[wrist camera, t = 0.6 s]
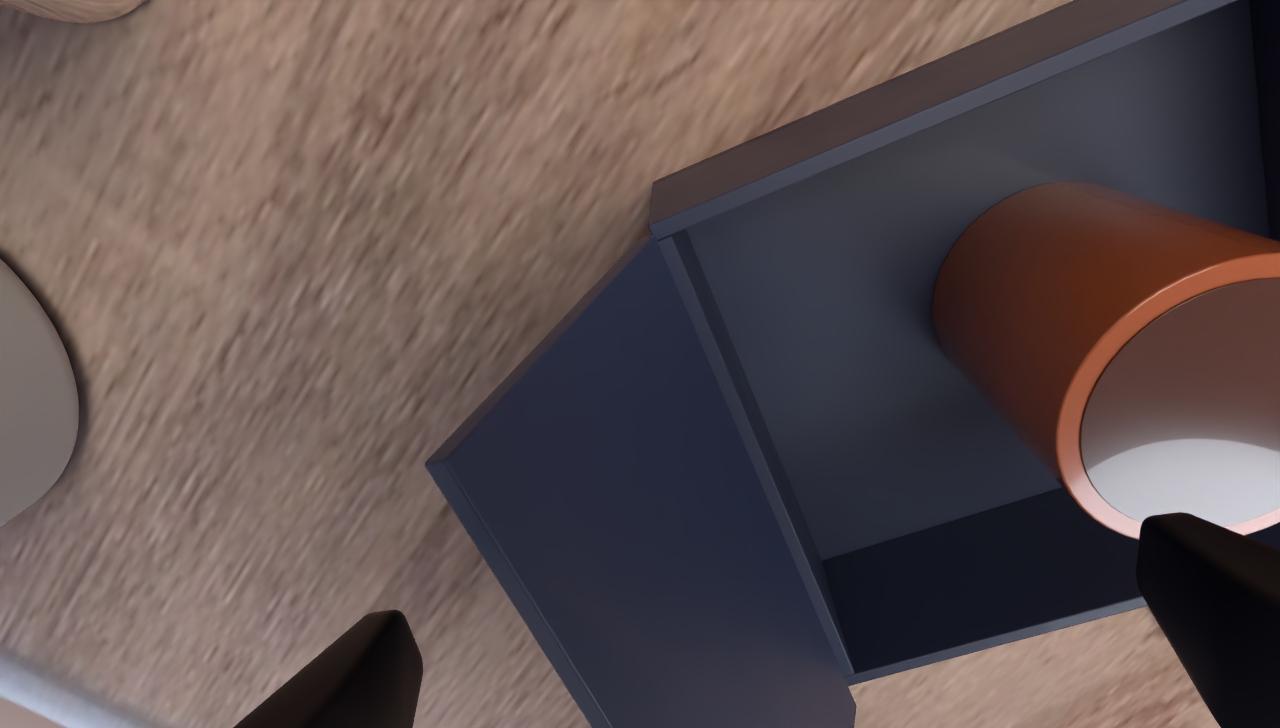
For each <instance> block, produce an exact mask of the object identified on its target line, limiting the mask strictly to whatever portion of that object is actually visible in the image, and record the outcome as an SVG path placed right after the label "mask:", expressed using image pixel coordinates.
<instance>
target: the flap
mask: <svg viewBox="0 0 1280 728" xmlns="http://www.w3.org/2000/svg"><path fill="white" fill-rule="evenodd" d="M425 467H426V469H427V470H428V472H429V473H430V475H431V476H432V478H433V479H434V481H435V483H436V484H437V486H438V487H439V489H440V490H441V492H442V494H443V495H444V497H445V498H446V500H447V501H448V503H449V505H450V506H451V508H452V509H453V511H454V512H455V514H456V515H457V517H458V519H459V520H460V522H461V523H462V525H463V526H464V528H465V530H466V531H467V533H468V534H469V536H470V537H471V539H472V541H473V542H474V544H475V545H476V547H477V548H478V550H479V551H480V553H481V555H482V556H483V558H484V559H485V561H486V562H487V564H488V566H489V567H490V569H491V570H492V572H493V573H494V575H495V577H496V578H497V580H498V581H499V583H500V584H501V586H502V587H503V589H504V591H505V592H506V594H507V595H508V597H509V598H510V600H511V602H512V603H513V605H514V606H515V608H516V609H517V611H518V613H519V614H520V616H521V617H522V619H523V620H524V622H525V623H526V625H527V627H528V628H529V630H530V631H531V633H532V634H533V636H534V638H535V639H536V641H537V642H538V644H539V645H540V647H541V649H542V650H543V652H544V653H545V655H546V656H547V658H548V659H549V661H550V663H551V664H552V666H553V667H554V669H555V670H556V672H557V674H558V675H559V677H560V678H561V680H562V681H563V683H564V685H565V686H566V688H567V689H568V691H569V692H570V694H571V695H572V697H573V699H574V700H575V702H576V703H577V705H578V706H579V708H580V710H581V711H582V713H583V714H584V716H585V717H586V719H587V721H588V722H589V724H590V725H591V727H592V728H854V722H855V714H856V704H855V702H854V700H853V697H852V695H851V693H850V690H849V688H848V685H847V683H846V681H845V678H844V676H843V674H842V671H841V669H840V667H839V664H838V662H837V660H836V657H835V655H834V653H833V650H832V648H831V646H830V643H829V641H828V639H827V636H826V634H825V632H824V629H823V627H822V625H821V622H820V620H819V618H818V615H817V613H816V611H815V608H814V606H813V604H812V601H811V599H810V597H809V594H808V592H807V590H806V587H805V585H804V583H803V580H802V578H801V576H800V573H799V571H798V569H797V566H796V564H795V562H794V559H793V557H792V555H791V552H790V550H789V548H788V545H787V543H786V541H785V538H784V536H783V534H782V531H781V529H780V527H779V524H778V522H777V520H776V517H775V515H774V513H773V510H772V508H771V506H770V503H769V501H768V499H767V496H766V494H765V492H764V489H763V487H762V485H761V482H760V480H759V478H758V475H757V473H756V471H755V468H754V466H753V464H752V461H751V459H750V457H749V454H748V452H747V450H746V447H745V445H744V443H743V440H742V438H741V436H740V433H739V431H738V429H737V426H736V424H735V421H734V419H733V417H732V414H731V412H730V410H729V407H728V405H727V403H726V400H725V398H724V396H723V393H722V391H721V389H720V386H719V384H718V382H717V379H716V377H715V375H714V372H713V370H712V368H711V365H710V363H709V361H708V358H707V356H706V354H705V351H704V349H703V347H702V344H701V342H700V340H699V337H698V335H697V333H696V330H695V328H694V326H693V323H692V321H691V319H690V316H689V314H688V312H687V309H686V307H685V305H684V302H683V300H682V298H681V295H680V293H679V291H678V288H677V286H676V284H675V281H674V279H673V277H672V274H671V272H670V270H669V267H668V265H667V263H666V260H665V258H664V256H663V253H662V251H661V249H660V246H659V244H658V242H657V239H656V237H655V235H649V236H646V237H643V238H640V239H639V240H638V241H637V242H636V243H635V244H634V245H633V246H632V247H631V248H630V249H629V250H628V251H627V252H626V253H625V254H624V255H623V256H622V257H621V259H620V260H619V261H618V262H617V263H616V264H615V265H614V266H613V267H612V268H611V269H610V270H609V271H608V272H607V273H606V274H605V275H604V276H603V277H602V278H601V279H600V280H599V281H598V283H597V284H596V285H595V286H594V287H593V288H592V289H591V290H590V291H589V292H588V293H587V294H586V295H585V296H584V297H583V298H582V299H581V300H580V301H579V302H578V303H577V304H576V306H575V307H574V308H573V309H572V310H571V311H570V312H569V313H568V314H567V315H566V316H565V317H564V318H563V319H562V320H561V321H560V322H559V323H558V324H557V325H556V326H555V327H554V328H553V330H552V331H551V332H550V333H549V334H548V335H547V336H546V337H545V338H544V339H543V340H542V341H541V342H540V343H539V344H538V345H537V346H536V347H535V348H534V349H533V350H532V351H531V353H530V354H529V355H528V356H527V357H526V358H525V359H524V360H523V361H522V362H521V363H520V364H519V365H518V366H517V367H516V368H515V369H514V370H513V371H512V372H511V373H510V374H509V375H508V377H507V378H506V379H505V380H504V381H503V382H502V383H501V384H500V385H499V386H498V387H497V388H496V389H495V390H494V391H493V392H492V393H491V394H490V395H489V396H488V397H487V398H486V400H485V401H484V402H483V403H482V404H481V405H480V406H479V407H478V408H477V409H476V410H475V411H474V412H473V413H472V414H471V415H470V416H469V417H468V418H467V419H466V420H465V421H464V422H463V424H462V425H461V426H460V427H459V428H458V429H457V430H456V431H455V432H454V433H453V434H452V435H451V436H450V437H449V438H448V439H447V440H446V441H445V442H444V443H443V444H442V445H441V446H440V448H439V449H438V450H437V451H436V452H435V453H434V454H433V455H432V456H431V457H430V458H429V459H428V460H427V461H426V462H425Z"/></svg>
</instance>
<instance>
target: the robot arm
mask: <svg viewBox="0 0 1280 728" xmlns="http://www.w3.org/2000/svg"><path fill="white" fill-rule="evenodd" d="M1136 580H1137V584H1138V587H1139V590H1140V592H1141V594H1142V596H1143V598H1144V600H1145V601H1146V603H1147V605H1148V606H1149V608H1150V610H1151V612H1152V613H1153V615H1154V617H1155V618H1156V620H1157V622H1158V624H1159V625H1160V627H1161V629H1162V630H1163V632H1164V634H1165V635H1166V637H1167V639H1168V641H1169V642H1170V644H1171V646H1172V647H1173V649H1174V651H1175V653H1176V654H1177V656H1178V658H1179V659H1180V661H1181V663H1182V665H1183V666H1184V668H1185V670H1186V671H1187V673H1188V675H1189V677H1190V678H1191V680H1192V682H1193V683H1194V685H1195V687H1196V689H1197V690H1198V692H1199V694H1200V695H1201V697H1202V699H1203V700H1204V702H1205V704H1206V705H1207V707H1208V708H1209V710H1210V712H1211V713H1212V715H1213V716H1214V718H1215V720H1216V721H1217V722H1218V724H1219V725H1220V727H1221V728H1280V550H1279V549H1276V548H1274V547H1271V546H1269V545H1266V544H1264V543H1261V542H1259V541H1256V540H1254V539H1251V538H1249V537H1246V536H1244V535H1241V534H1239V533H1236V532H1234V531H1231V530H1229V529H1227V528H1224V527H1222V526H1219V525H1217V524H1214V523H1212V522H1209V521H1207V520H1204V519H1202V518H1199V517H1197V516H1194V515H1192V514H1189V513H1184V512H1177V513H1169V514H1161V515H1153V516H1149V517H1147V518H1145V519H1144V521H1143V522H1142V524H1141V528H1140V536H1139V546H1138V555H1137V564H1136ZM422 675H423V662H422V657H421V654H420V651H419V649H418V646H417V644H416V641H415V639H414V637H413V634H412V632H411V629H410V627H409V624H408V622H407V620H406V618H405V616H404V614H403V613H402V612H400V611H398V610H389V611H380V612H373V613H369V614H367V615H366V616H364V617H363V618H362V619H361V620H359V621H358V622H357V623H356V624H355V625H354V626H352V627H351V628H350V629H349V630H348V631H347V632H345V633H344V634H343V635H342V636H341V637H339V638H338V639H337V640H336V641H335V642H334V643H332V644H331V645H330V646H329V647H328V648H326V649H325V650H324V651H323V652H322V653H321V654H319V655H318V656H317V657H316V658H315V659H313V660H312V661H311V662H310V663H309V664H308V665H306V666H305V667H304V668H303V669H302V670H301V671H299V672H298V673H297V674H296V675H295V676H293V677H292V678H291V679H290V680H289V681H288V682H286V683H285V684H284V685H283V686H282V687H280V688H279V689H278V690H277V691H276V692H275V693H273V694H272V695H271V696H270V697H269V698H267V699H266V700H265V701H264V702H263V703H262V704H260V705H259V706H258V707H257V708H256V709H254V710H253V711H252V712H251V713H250V714H249V715H247V716H246V717H245V718H244V719H243V720H241V721H240V722H239V723H238V724H237V725H236V726H234V727H233V728H413V723H414V717H415V712H416V707H417V702H418V697H419V692H420V686H421V681H422Z"/></svg>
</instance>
